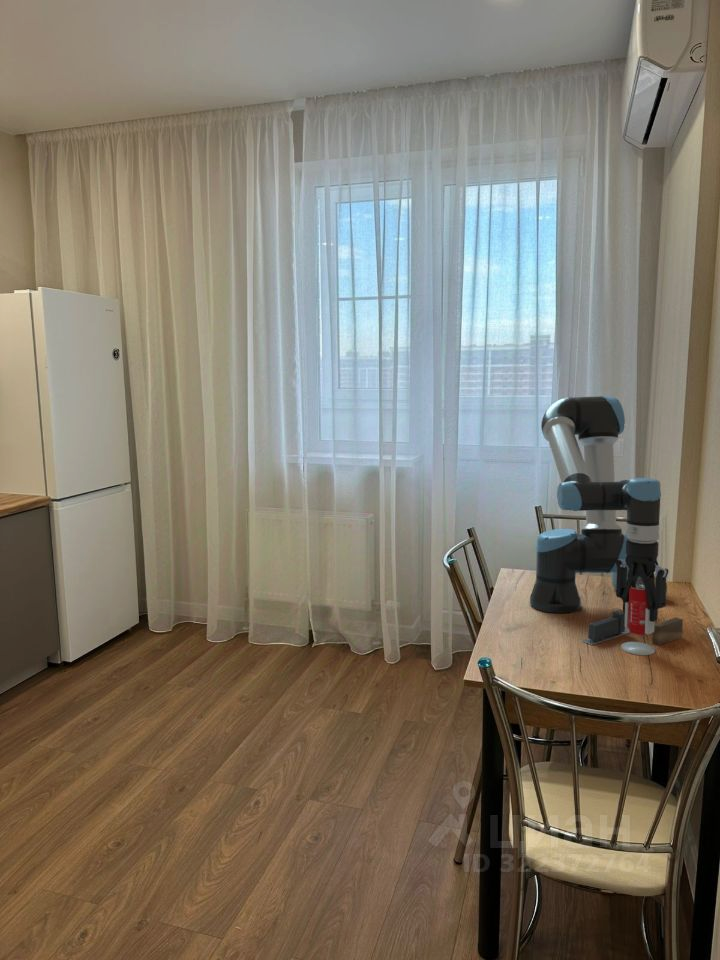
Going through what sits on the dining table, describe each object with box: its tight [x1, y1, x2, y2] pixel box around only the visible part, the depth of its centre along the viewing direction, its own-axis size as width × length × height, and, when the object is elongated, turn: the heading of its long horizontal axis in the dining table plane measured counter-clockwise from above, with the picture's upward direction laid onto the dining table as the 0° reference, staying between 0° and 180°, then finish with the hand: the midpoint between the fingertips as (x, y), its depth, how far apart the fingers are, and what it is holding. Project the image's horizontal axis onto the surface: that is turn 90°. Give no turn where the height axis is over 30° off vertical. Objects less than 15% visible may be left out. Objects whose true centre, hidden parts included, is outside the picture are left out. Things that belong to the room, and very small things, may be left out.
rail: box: [581, 627, 631, 646], centre depth 181 cm, size 3×25×1 cm, turn 122°
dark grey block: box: [587, 610, 625, 641], centre depth 178 cm, size 3×12×5 cm, turn 122°
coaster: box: [621, 641, 656, 656], centre depth 170 cm, size 8×8×1 cm
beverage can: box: [628, 584, 649, 636], centre depth 169 cm, size 5×5×12 cm
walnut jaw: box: [651, 617, 684, 646], centre depth 175 cm, size 2×10×5 cm, turn 122°
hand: (639, 629), depth 169 cm, fingers closed on beverage can, 5 cm apart
